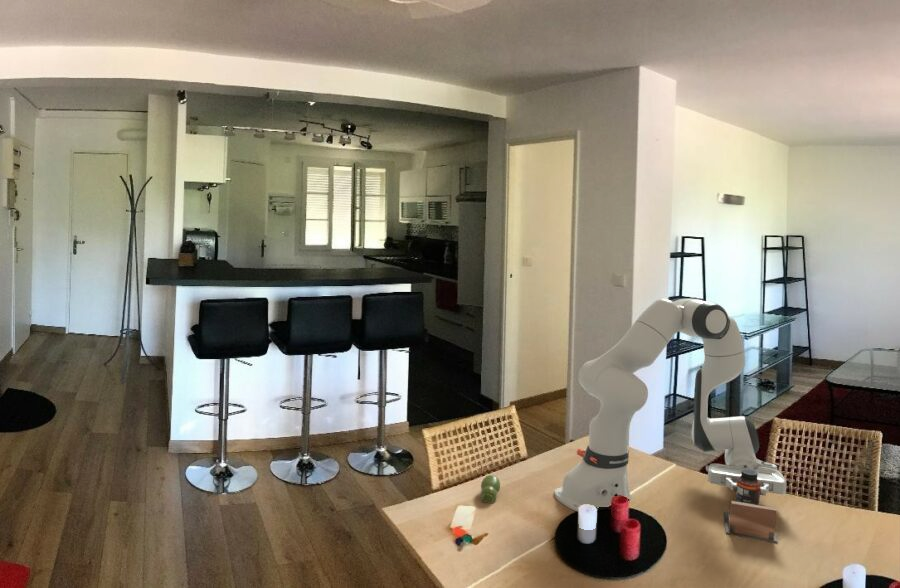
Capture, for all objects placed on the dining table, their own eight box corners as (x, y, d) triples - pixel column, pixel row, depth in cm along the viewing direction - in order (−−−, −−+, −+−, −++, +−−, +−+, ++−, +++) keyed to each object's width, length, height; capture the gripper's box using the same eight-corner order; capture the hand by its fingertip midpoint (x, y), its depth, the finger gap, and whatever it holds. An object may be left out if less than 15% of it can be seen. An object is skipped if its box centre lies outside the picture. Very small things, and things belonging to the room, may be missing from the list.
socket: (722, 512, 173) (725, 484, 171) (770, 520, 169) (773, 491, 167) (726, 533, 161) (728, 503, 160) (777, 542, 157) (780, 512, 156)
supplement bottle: (753, 505, 174) (757, 467, 172) (761, 516, 168) (765, 476, 166) (731, 504, 174) (734, 466, 173) (739, 514, 168) (742, 475, 167)
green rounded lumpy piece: (501, 472, 183) (496, 493, 174) (501, 488, 185) (496, 508, 176) (483, 470, 184) (477, 490, 175) (483, 485, 186) (477, 506, 177)
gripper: (706, 454, 185) (708, 473, 172) (782, 465, 178) (790, 485, 166) (704, 474, 186) (706, 494, 173) (780, 486, 179) (788, 507, 166)
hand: (748, 490), depth 169 cm, fingers closed on supplement bottle, 6 cm apart
